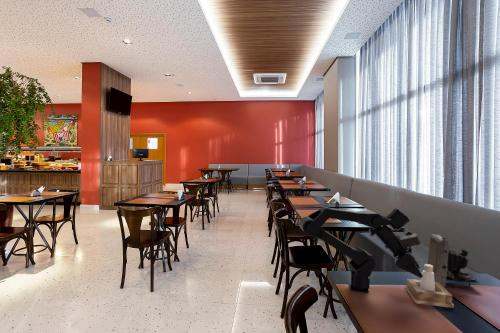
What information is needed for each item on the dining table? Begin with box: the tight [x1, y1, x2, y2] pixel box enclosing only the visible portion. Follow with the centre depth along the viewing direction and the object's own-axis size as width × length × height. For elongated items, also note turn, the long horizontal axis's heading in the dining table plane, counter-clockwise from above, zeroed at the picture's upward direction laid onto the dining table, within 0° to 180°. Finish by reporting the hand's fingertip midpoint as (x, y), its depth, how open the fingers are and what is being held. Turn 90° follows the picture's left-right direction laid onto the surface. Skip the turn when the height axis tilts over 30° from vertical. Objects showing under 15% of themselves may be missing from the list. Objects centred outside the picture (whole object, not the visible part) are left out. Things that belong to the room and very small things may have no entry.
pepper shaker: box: [420, 263, 435, 291], centre depth 105 cm, size 5×5×11 cm
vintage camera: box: [427, 232, 480, 288], centre depth 116 cm, size 10×16×20 cm, turn 79°
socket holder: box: [404, 278, 455, 309], centre depth 105 cm, size 12×12×4 cm
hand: (420, 272), depth 106 cm, fingers open, 9 cm apart
